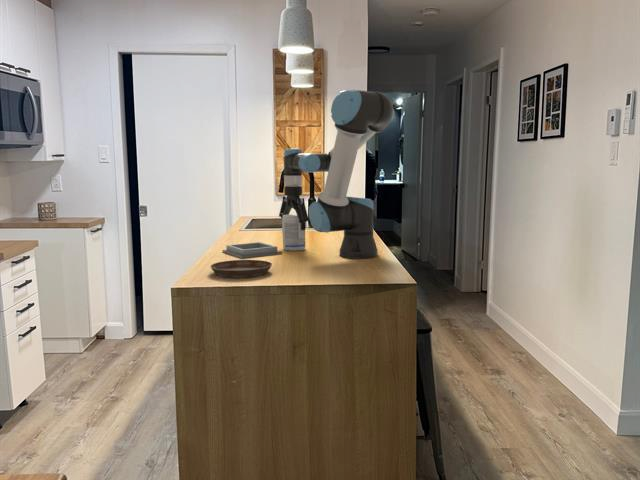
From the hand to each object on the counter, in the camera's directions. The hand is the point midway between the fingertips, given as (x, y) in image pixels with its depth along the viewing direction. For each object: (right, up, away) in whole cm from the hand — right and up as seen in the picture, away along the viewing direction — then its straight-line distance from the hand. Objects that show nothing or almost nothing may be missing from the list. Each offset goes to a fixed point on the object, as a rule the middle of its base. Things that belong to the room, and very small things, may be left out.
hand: (293, 235), depth 239 cm
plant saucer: (-15, -13, -48) cm, 52 cm away
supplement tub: (0, -6, +1) cm, 6 cm away
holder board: (-17, -7, -8) cm, 20 cm away
